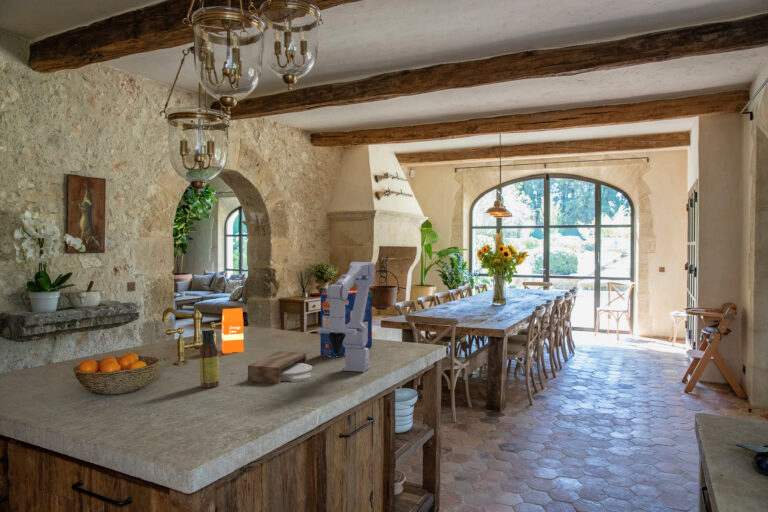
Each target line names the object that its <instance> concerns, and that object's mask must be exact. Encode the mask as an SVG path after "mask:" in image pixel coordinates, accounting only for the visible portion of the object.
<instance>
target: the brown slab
mask: <svg viewBox="0 0 768 512" xmlns="http://www.w3.org/2000/svg"><path fill="white" fill-rule="evenodd" d="M292 363H304V364H307V352H298V351H279V350H278V351H276V352H274V353H272V354H270V355H268V356H266V357H264V358H261V359H259V360H257V361H254V362H253V363H250V364H248V365H247V382H252V381H257V382H256V383H265V382H269V383H270V384H280V383H281V380H280V370H281V369H283V368H285V367H287V366H289V365H290V364H292Z"/></svg>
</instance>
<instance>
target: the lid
mask: <svg viewBox="0 0 768 512" xmlns="http://www.w3.org/2000/svg"><path fill="white" fill-rule="evenodd" d="M312 370H313V366H312V365H310V364H308V363H306V364H304V363H292V364H290V365H289V366H287V367H285V368H283V369H281V370H280V381H285V380H286V381H287V382H291V383H300V382H301V381H302V382H306V380H307V381H310V380H311V378H312V376H313V375H312ZM309 379H310V380H309Z"/></svg>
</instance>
